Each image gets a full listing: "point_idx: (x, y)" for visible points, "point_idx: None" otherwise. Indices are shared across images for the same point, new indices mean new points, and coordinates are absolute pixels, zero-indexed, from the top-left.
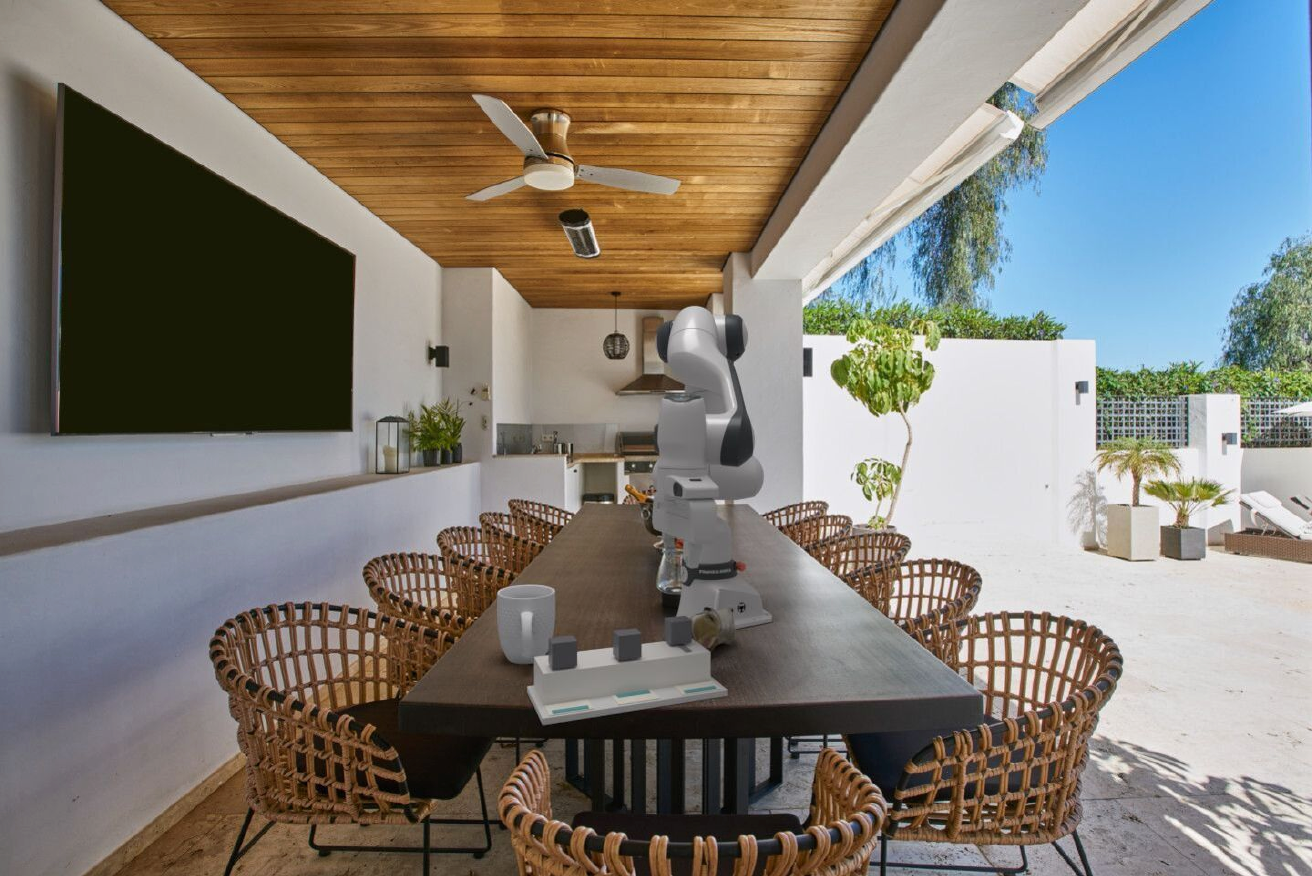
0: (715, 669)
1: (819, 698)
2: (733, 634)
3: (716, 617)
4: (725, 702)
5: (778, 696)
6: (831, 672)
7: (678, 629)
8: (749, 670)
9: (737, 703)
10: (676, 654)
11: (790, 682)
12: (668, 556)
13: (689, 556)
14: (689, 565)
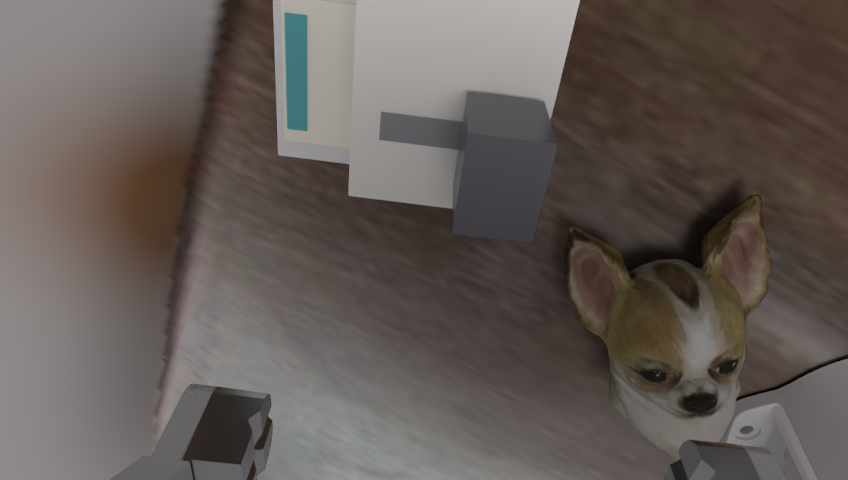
0: None
1: (198, 325)
2: (609, 387)
3: (649, 394)
4: (242, 116)
5: (237, 259)
6: (328, 427)
7: (461, 153)
8: (427, 298)
9: (226, 142)
10: (376, 63)
11: (309, 330)
12: (693, 450)
13: (129, 470)
14: (181, 397)
